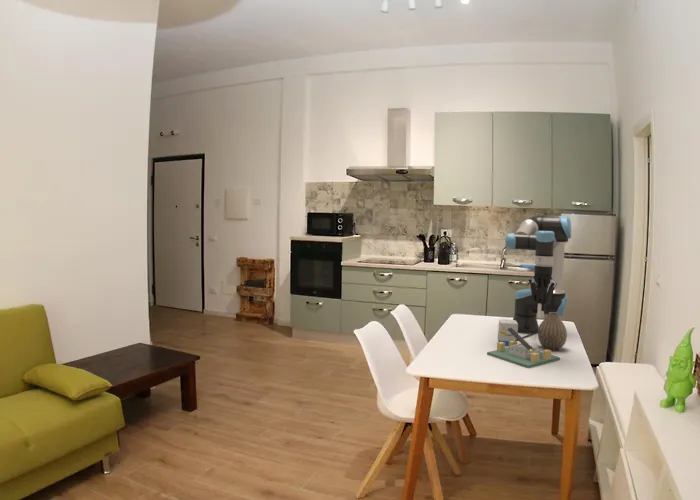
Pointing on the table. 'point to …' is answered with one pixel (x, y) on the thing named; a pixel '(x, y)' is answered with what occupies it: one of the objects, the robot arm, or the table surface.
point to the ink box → (506, 331)
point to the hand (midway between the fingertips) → (540, 317)
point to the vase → (552, 332)
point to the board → (521, 360)
